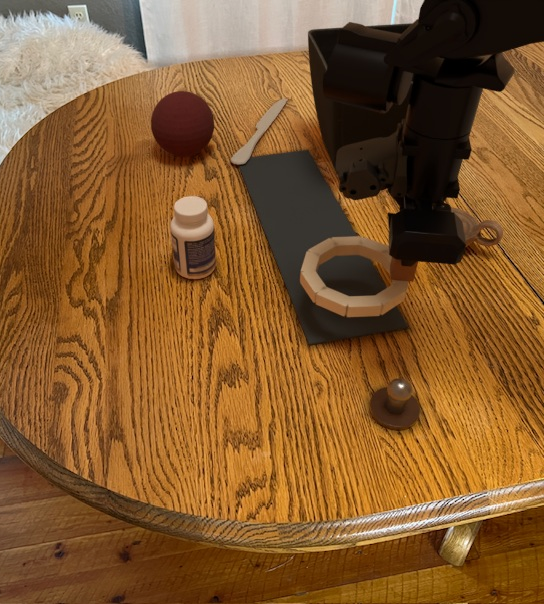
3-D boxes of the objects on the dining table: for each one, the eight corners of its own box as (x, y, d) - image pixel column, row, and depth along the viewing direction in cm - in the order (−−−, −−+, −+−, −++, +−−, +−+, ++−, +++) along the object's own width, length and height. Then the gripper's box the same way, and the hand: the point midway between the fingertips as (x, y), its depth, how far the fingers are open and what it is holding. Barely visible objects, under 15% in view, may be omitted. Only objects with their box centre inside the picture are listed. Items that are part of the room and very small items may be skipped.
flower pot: (448, 184, 90) (479, 75, 78) (323, 195, 89) (335, 85, 77) (408, 122, 103) (429, 21, 91) (299, 131, 102) (306, 29, 90)
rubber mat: (408, 328, 70) (408, 326, 70) (308, 345, 68) (309, 343, 68) (308, 151, 98) (308, 149, 97) (236, 160, 96) (236, 158, 96)
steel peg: (429, 412, 62) (439, 386, 58) (396, 439, 59) (404, 412, 56) (391, 382, 64) (399, 355, 61) (359, 406, 62) (365, 379, 59)
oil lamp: (387, 238, 81) (393, 208, 78) (409, 211, 86) (416, 181, 82) (484, 274, 76) (495, 244, 72) (502, 243, 80) (514, 212, 77)
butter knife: (226, 160, 95) (243, 164, 94) (278, 96, 110) (293, 98, 109) (226, 163, 95) (244, 166, 94) (277, 98, 110) (293, 100, 110)
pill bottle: (223, 260, 79) (221, 199, 72) (203, 285, 76) (199, 223, 69) (188, 248, 81) (182, 187, 74) (167, 272, 78) (159, 211, 71)
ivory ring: (429, 283, 67) (442, 237, 62) (353, 334, 62) (362, 288, 57) (353, 233, 74) (360, 188, 69) (279, 275, 69) (281, 230, 64)
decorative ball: (213, 169, 95) (211, 110, 88) (150, 169, 95) (143, 110, 88) (216, 136, 102) (214, 79, 95) (158, 136, 102) (151, 79, 95)
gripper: (349, 73, 61) (333, 200, 72) (342, 174, 48) (325, 310, 59) (463, 78, 59) (430, 207, 70) (488, 185, 46) (442, 323, 57)
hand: (405, 256), depth 64 cm, fingers closed on ivory ring, 2 cm apart
